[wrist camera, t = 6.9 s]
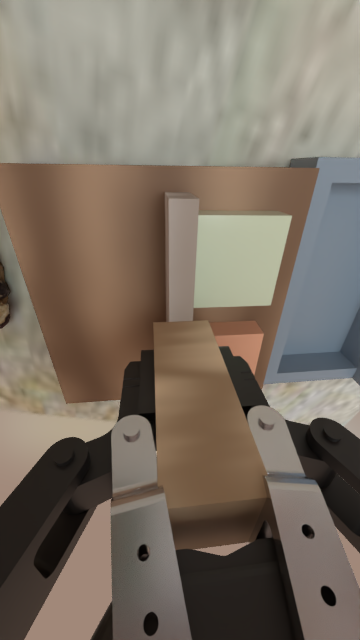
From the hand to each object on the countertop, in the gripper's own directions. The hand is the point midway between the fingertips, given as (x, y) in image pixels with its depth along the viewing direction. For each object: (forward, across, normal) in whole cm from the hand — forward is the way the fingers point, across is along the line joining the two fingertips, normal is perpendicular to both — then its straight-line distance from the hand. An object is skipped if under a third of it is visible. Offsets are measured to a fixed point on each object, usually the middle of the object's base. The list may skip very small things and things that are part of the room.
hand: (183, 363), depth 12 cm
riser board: (+9, +1, 0) cm, 9 cm away
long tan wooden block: (+5, 0, 0) cm, 5 cm away
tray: (+9, -13, 0) cm, 16 cm away
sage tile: (+5, -3, -4) cm, 7 cm away
